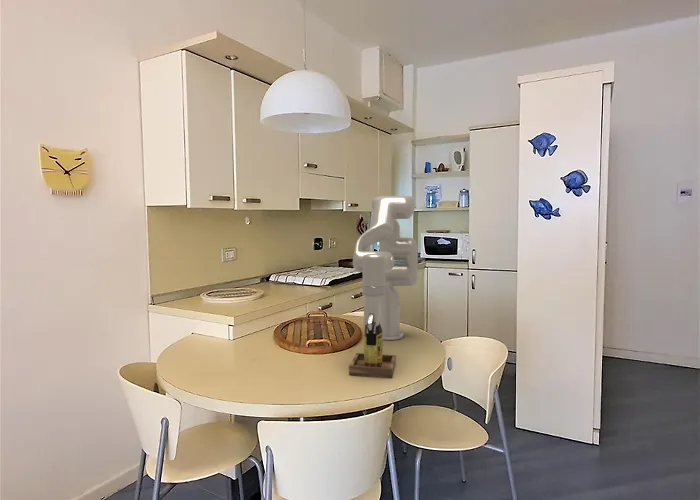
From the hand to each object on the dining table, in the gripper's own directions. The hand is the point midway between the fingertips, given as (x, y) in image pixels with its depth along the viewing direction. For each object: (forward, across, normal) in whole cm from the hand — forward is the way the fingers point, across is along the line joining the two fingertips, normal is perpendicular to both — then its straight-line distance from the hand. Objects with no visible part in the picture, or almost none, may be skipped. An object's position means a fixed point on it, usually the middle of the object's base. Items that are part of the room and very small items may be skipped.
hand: (373, 340), depth 149 cm
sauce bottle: (+9, 0, 0) cm, 9 cm away
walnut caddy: (+10, 0, 0) cm, 10 cm away
